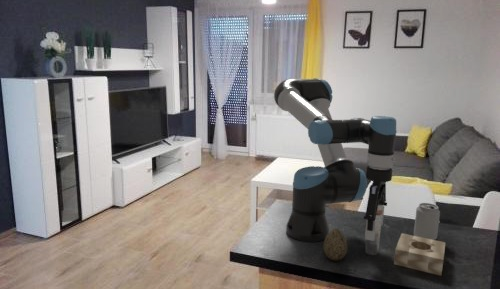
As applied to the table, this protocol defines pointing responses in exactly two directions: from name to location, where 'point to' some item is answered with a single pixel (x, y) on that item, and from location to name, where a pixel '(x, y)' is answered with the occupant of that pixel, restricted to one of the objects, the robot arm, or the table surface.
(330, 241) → the decorative egg
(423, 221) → the can
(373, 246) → the tube
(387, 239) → the table surface
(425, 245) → the collar
